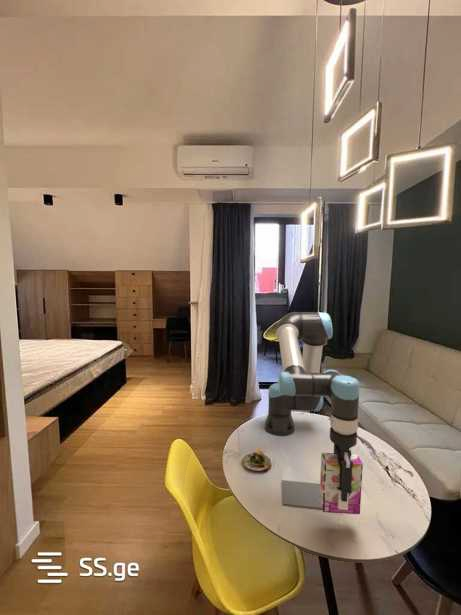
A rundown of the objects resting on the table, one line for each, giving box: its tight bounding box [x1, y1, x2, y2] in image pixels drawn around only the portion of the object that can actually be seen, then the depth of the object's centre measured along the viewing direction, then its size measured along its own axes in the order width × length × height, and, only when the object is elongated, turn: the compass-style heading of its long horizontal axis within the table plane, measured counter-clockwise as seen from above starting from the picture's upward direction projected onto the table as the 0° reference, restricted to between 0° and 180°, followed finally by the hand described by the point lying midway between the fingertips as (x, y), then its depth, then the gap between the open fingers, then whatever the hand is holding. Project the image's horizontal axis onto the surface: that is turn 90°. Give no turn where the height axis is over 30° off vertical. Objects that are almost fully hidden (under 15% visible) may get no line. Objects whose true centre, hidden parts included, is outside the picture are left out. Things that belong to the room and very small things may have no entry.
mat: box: [281, 479, 322, 511], centre depth 103 cm, size 12×22×1 cm, turn 82°
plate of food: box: [241, 448, 272, 472], centre depth 121 cm, size 12×12×8 cm
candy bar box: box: [319, 452, 364, 515], centre depth 89 cm, size 11×5×16 cm, turn 86°
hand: (340, 501), depth 89 cm, fingers closed on candy bar box, 5 cm apart
